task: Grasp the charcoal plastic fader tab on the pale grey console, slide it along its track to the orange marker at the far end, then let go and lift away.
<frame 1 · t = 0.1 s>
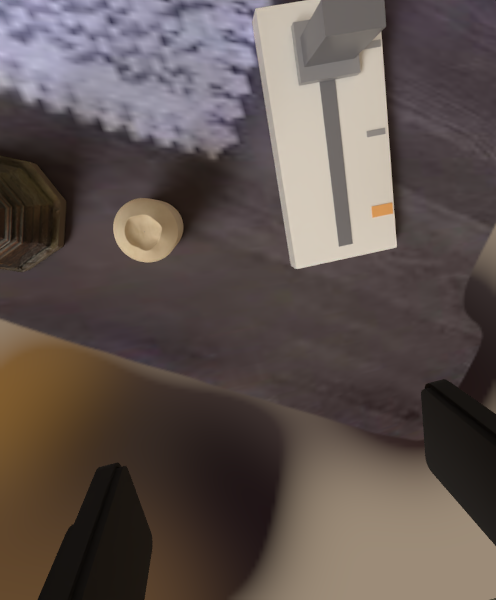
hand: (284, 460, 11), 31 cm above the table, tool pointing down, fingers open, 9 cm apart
bird statue: (34, 209, 36), on the table
candle: (158, 226, 38), on the table
fader console: (325, 145, 38), on the table
fader tab: (338, 34, 30), point 6 cm above the table, slide at -8.0 cm
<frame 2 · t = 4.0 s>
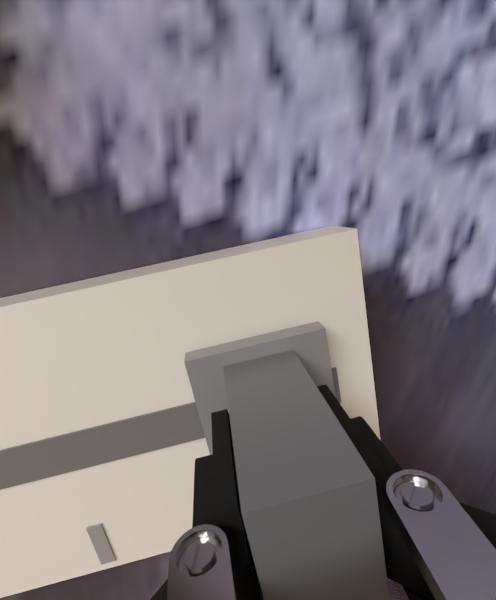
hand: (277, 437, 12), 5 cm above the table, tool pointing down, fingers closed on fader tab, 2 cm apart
fader console: (85, 415, 16), on the table
fader tab: (287, 470, 10), point 6 cm above the table, slide at -8.0 cm, touching gripper
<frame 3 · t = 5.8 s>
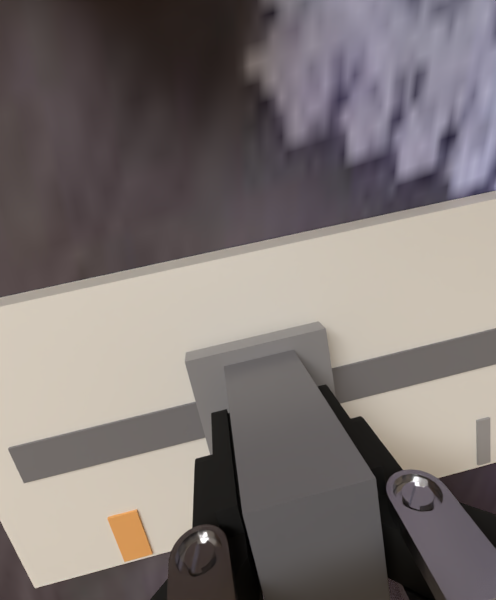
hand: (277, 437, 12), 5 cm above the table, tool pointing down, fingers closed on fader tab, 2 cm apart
fader console: (282, 367, 16), on the table
fader tab: (288, 470, 10), point 6 cm above the table, slide at 1.3 cm, touching gripper
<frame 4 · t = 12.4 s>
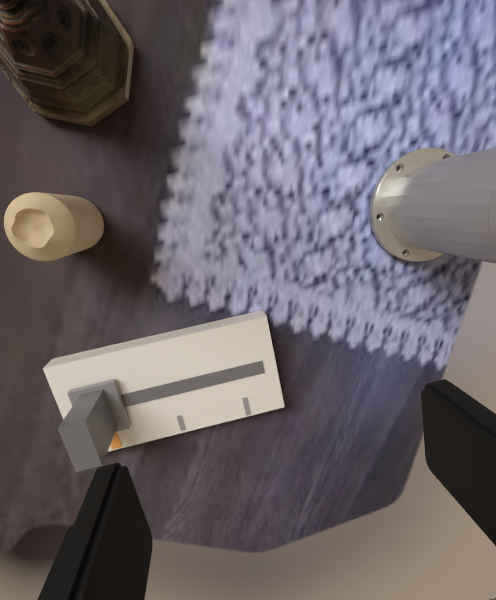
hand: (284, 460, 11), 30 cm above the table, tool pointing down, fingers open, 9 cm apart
bird statue: (80, 89, 33), on the table
candle: (78, 223, 36), on the table
fader console: (173, 378, 42), on the table
fader tab: (91, 425, 36), point 6 cm above the table, slide at 8.0 cm
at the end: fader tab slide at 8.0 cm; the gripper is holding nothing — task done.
